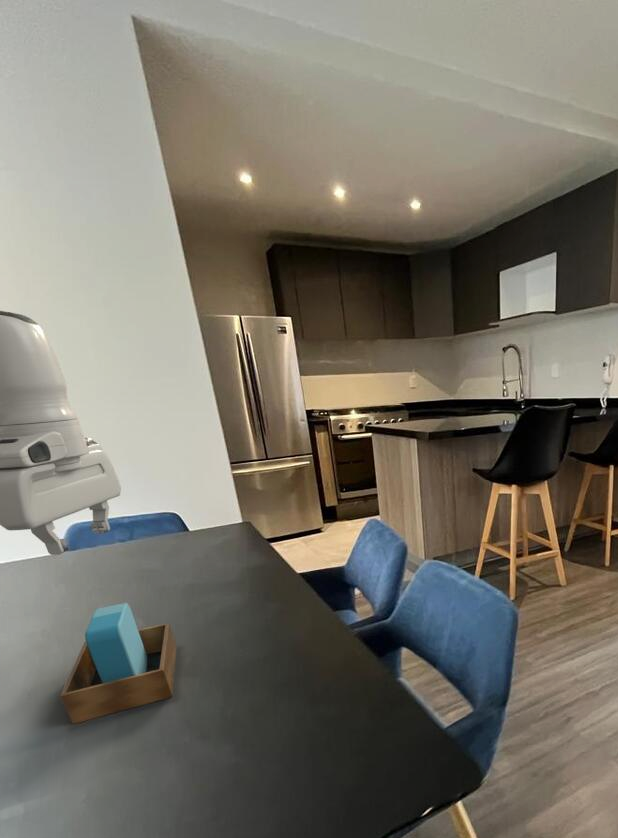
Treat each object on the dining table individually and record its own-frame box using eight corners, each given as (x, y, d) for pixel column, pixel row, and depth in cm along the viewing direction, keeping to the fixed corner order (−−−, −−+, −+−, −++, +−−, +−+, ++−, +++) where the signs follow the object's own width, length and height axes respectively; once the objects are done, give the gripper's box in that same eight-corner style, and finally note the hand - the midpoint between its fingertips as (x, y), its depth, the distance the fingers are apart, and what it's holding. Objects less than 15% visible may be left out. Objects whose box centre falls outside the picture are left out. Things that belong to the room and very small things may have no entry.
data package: (119, 667, 86) (96, 606, 82) (148, 660, 88) (127, 599, 83) (110, 703, 76) (82, 636, 72) (143, 694, 78) (118, 628, 73)
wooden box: (72, 724, 72) (59, 696, 70) (94, 665, 87) (84, 641, 85) (172, 696, 77) (163, 669, 75) (176, 646, 92) (169, 622, 90)
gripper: (75, 437, 76) (105, 523, 81) (-45, 457, 57) (5, 568, 62) (115, 434, 76) (143, 521, 81) (10, 454, 57) (54, 565, 62)
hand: (82, 542), depth 72 cm, fingers open, 8 cm apart
